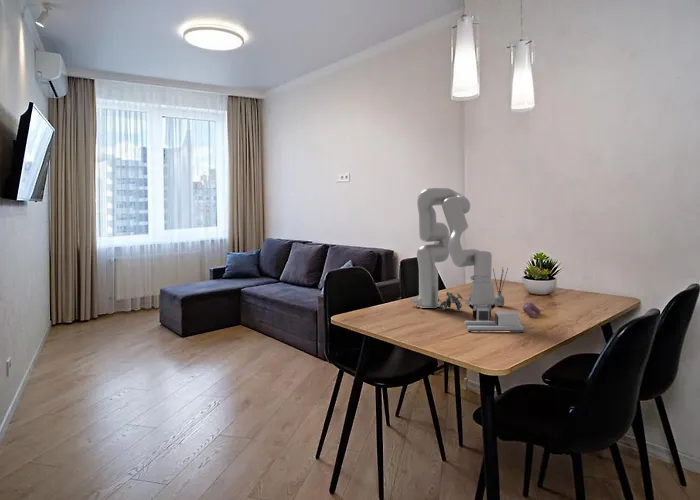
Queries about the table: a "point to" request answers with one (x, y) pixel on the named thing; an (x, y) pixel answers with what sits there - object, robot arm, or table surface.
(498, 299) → the reed diffuser
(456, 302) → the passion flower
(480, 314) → the block
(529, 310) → the video game controller
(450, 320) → the table surface
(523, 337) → the table surface
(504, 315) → the rail dock
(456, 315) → the table surface
